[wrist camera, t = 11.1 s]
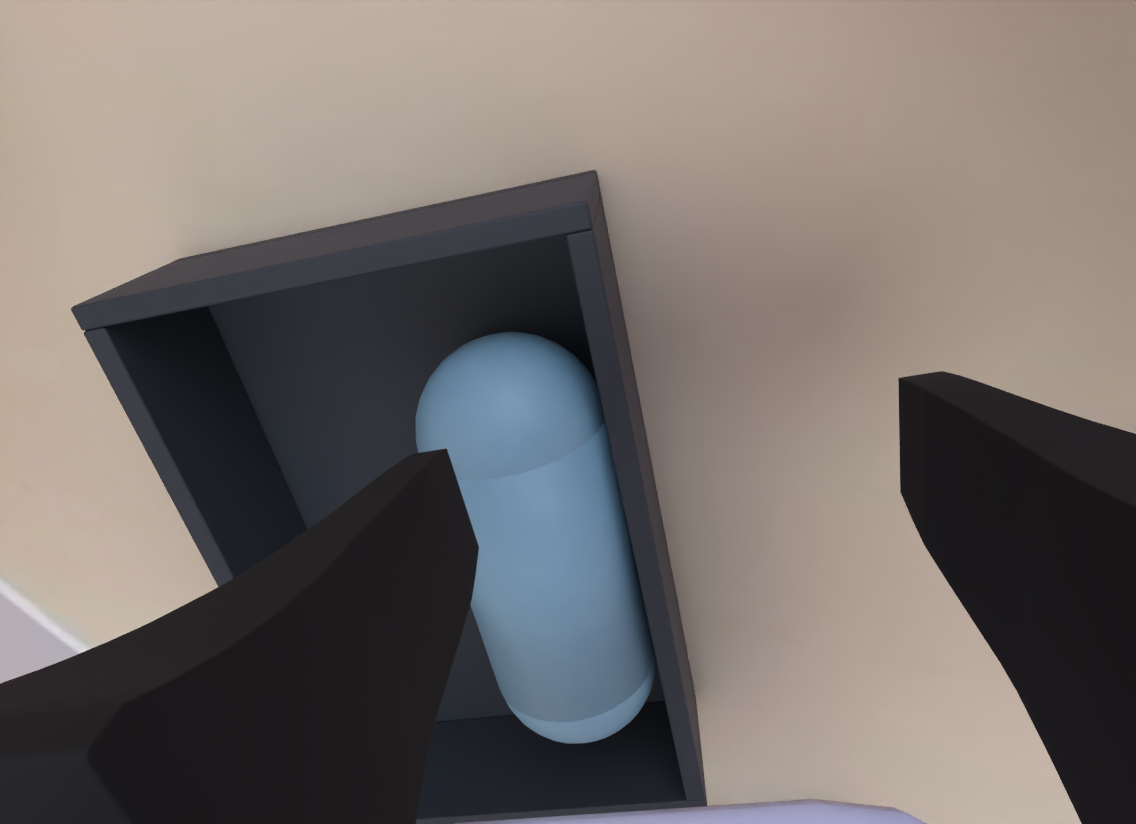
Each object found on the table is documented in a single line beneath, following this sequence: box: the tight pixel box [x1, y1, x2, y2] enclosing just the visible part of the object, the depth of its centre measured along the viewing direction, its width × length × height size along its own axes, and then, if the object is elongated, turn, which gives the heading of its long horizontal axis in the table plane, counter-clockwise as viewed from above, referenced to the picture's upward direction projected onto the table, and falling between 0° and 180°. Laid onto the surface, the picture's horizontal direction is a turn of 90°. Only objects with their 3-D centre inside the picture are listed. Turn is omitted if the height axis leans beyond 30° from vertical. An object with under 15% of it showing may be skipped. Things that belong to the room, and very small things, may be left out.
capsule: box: [416, 332, 657, 743], centre depth 20 cm, size 13×5×5 cm
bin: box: [71, 170, 707, 824], centre depth 21 cm, size 19×12×4 cm, turn 12°
